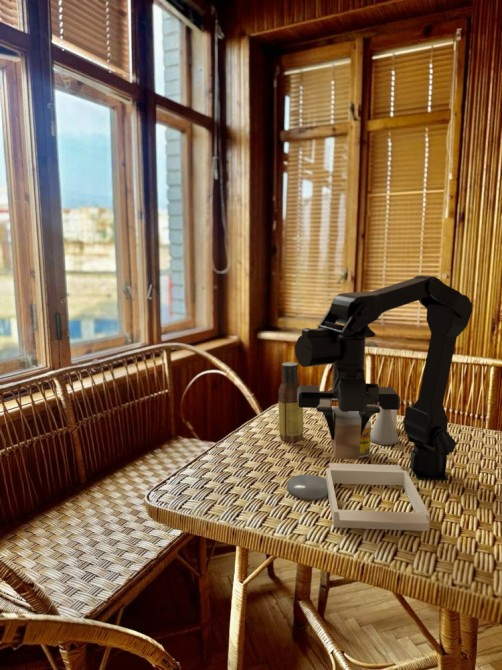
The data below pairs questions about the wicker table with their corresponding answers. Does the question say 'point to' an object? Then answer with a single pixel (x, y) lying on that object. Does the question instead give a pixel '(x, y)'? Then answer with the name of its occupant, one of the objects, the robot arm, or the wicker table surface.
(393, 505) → the wicker table surface
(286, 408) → the sauce bottle
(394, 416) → the pepper shaker
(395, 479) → the beige square frame
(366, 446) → the supplement bottle
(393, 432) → the flask
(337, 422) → the gray box
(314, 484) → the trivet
